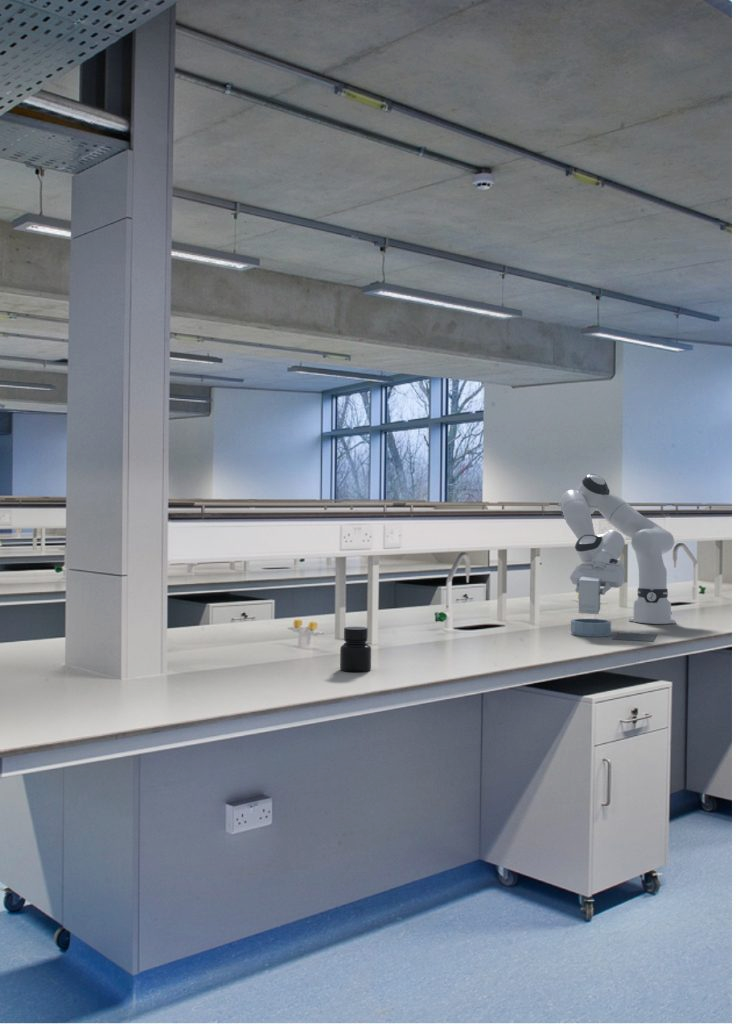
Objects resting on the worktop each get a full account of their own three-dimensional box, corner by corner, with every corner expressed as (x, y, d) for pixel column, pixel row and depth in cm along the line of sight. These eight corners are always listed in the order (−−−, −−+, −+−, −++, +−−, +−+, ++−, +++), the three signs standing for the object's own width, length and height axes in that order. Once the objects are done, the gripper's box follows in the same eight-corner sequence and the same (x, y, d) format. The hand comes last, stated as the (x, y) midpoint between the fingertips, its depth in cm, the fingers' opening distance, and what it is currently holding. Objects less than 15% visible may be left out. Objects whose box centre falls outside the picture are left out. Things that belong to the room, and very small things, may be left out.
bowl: (574, 630, 359) (574, 617, 359) (612, 633, 354) (612, 619, 354) (568, 635, 345) (568, 622, 345) (608, 637, 340) (608, 624, 340)
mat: (618, 632, 355) (618, 632, 355) (656, 634, 350) (656, 634, 350) (612, 639, 336) (612, 638, 336) (653, 641, 331) (653, 641, 331)
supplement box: (598, 614, 345) (598, 580, 343) (578, 613, 347) (578, 580, 346) (600, 609, 352) (601, 576, 350) (580, 608, 354) (580, 576, 352)
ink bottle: (373, 667, 271) (373, 626, 271) (371, 673, 263) (371, 630, 263) (340, 667, 272) (340, 625, 272) (337, 672, 263) (337, 629, 263)
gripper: (575, 558, 361) (562, 585, 354) (624, 561, 348) (611, 588, 341) (580, 569, 365) (567, 596, 358) (629, 572, 351) (617, 600, 344)
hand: (589, 592), depth 349 cm, fingers closed on supplement box, 8 cm apart
